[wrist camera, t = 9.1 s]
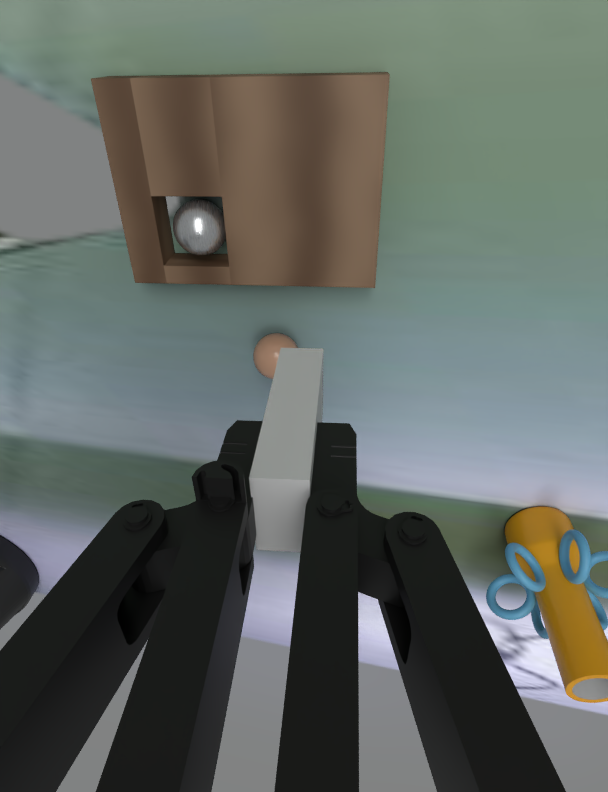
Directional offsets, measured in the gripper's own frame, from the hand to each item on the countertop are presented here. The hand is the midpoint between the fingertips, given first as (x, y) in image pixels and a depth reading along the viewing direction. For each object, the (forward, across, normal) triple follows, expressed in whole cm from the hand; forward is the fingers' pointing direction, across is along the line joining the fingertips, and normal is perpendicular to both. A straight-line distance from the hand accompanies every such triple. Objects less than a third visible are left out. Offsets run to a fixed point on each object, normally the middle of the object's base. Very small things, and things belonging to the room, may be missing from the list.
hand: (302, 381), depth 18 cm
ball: (+18, +4, +9) cm, 20 cm away
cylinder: (+20, -20, +28) cm, 40 cm away
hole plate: (+19, +5, -3) cm, 20 cm away
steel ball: (+18, +8, 0) cm, 19 cm away
